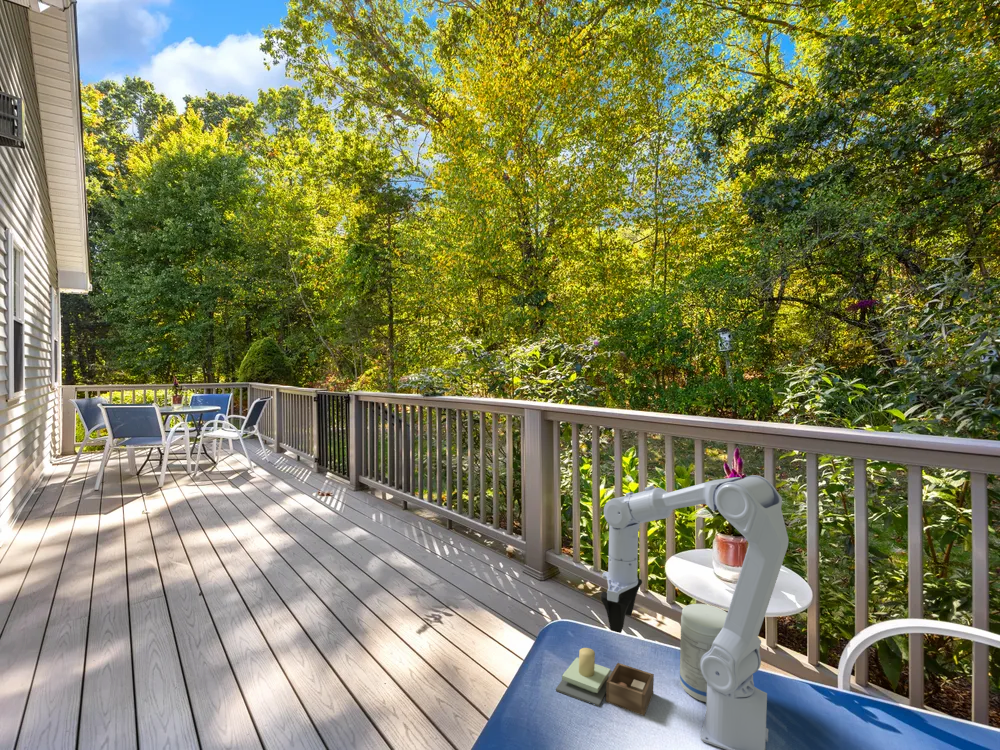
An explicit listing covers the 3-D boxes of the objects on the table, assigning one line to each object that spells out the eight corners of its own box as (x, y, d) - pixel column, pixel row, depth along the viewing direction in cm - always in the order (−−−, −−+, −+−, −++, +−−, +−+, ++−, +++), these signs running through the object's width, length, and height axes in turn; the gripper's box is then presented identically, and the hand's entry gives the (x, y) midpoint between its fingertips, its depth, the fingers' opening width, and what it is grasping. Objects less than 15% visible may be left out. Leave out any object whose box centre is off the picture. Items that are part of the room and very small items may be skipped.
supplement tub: (695, 668, 103) (697, 598, 103) (741, 692, 96) (744, 616, 95) (669, 686, 97) (671, 612, 97) (716, 713, 90) (719, 633, 89)
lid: (610, 677, 99) (610, 649, 99) (597, 697, 93) (597, 667, 93) (576, 664, 103) (577, 638, 103) (561, 683, 97) (562, 655, 96)
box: (653, 695, 95) (653, 674, 95) (644, 717, 89) (644, 695, 89) (617, 682, 98) (617, 662, 98) (606, 703, 92) (606, 681, 92)
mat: (616, 674, 100) (616, 672, 100) (598, 706, 91) (598, 704, 91) (576, 661, 105) (576, 659, 105) (555, 690, 95) (555, 688, 95)
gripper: (613, 541, 109) (612, 602, 109) (592, 564, 96) (590, 633, 97) (646, 547, 106) (644, 610, 106) (629, 572, 93) (627, 643, 93)
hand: (621, 622), depth 101 cm, fingers open, 7 cm apart
